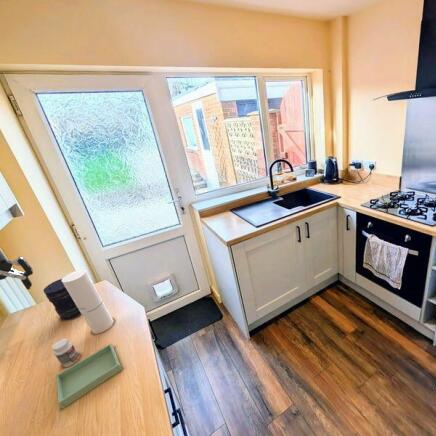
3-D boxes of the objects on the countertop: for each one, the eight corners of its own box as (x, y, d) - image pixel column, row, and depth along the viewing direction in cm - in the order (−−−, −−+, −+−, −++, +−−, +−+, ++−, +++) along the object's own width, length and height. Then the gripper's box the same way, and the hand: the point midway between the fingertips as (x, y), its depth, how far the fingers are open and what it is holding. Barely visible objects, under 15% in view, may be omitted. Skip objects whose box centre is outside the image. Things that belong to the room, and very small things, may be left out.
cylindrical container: (99, 320, 101) (70, 271, 91) (117, 317, 102) (90, 268, 92) (88, 335, 95) (56, 283, 85) (107, 332, 95) (77, 280, 85)
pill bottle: (77, 363, 84) (65, 346, 80) (60, 369, 82) (47, 352, 79) (81, 352, 88) (71, 335, 84) (66, 358, 86) (54, 341, 83)
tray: (62, 408, 70) (58, 403, 69) (59, 380, 79) (55, 375, 78) (122, 369, 80) (119, 364, 79) (113, 348, 88) (110, 343, 87)
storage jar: (87, 300, 114) (72, 274, 108) (90, 310, 108) (74, 283, 101) (60, 312, 109) (43, 285, 102) (61, 324, 102) (42, 296, 96)
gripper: (13, 236, 76) (40, 279, 82) (-60, 257, 67) (-23, 303, 74) (12, 244, 71) (41, 288, 77) (-67, 267, 62) (-27, 315, 69)
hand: (10, 295), depth 76 cm, fingers open, 8 cm apart
